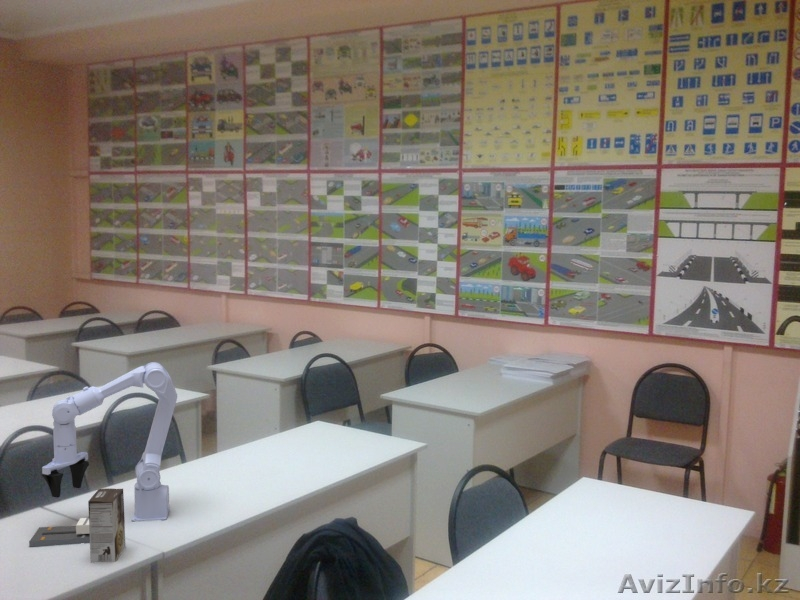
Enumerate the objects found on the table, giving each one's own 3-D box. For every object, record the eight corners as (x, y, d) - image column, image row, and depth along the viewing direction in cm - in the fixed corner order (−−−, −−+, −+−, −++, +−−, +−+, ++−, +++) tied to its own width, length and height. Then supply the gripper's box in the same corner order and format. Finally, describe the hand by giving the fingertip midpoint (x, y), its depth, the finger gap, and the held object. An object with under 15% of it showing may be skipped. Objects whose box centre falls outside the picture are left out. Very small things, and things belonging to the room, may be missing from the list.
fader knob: (96, 526, 205) (96, 517, 205) (92, 533, 200) (92, 524, 200) (80, 526, 204) (80, 517, 204) (76, 534, 199) (75, 525, 199)
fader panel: (101, 529, 207) (101, 524, 207) (94, 543, 199) (94, 537, 198) (39, 532, 205) (39, 527, 204) (29, 546, 196) (29, 540, 196)
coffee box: (100, 549, 195) (98, 488, 194) (126, 548, 196) (124, 487, 195) (89, 564, 186) (87, 500, 185) (116, 563, 187) (114, 500, 186)
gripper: (73, 435, 215) (75, 481, 217) (32, 449, 202) (34, 498, 203) (93, 438, 213) (94, 485, 214) (53, 452, 199) (54, 502, 201)
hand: (66, 492), depth 209 cm, fingers open, 7 cm apart
